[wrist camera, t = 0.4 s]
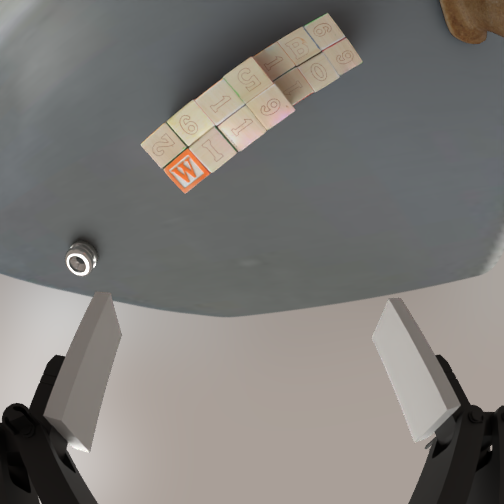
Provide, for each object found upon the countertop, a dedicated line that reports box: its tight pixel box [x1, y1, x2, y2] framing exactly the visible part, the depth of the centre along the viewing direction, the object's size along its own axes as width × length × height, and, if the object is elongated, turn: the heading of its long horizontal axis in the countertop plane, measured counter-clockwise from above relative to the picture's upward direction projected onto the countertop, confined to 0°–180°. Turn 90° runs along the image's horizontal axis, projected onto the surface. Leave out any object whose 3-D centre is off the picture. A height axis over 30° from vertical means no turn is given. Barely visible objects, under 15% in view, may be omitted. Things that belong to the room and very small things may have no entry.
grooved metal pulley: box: [65, 241, 98, 276], centre depth 42 cm, size 5×3×5 cm
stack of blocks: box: [141, 13, 363, 194], centre depth 28 cm, size 21×6×12 cm, turn 127°
